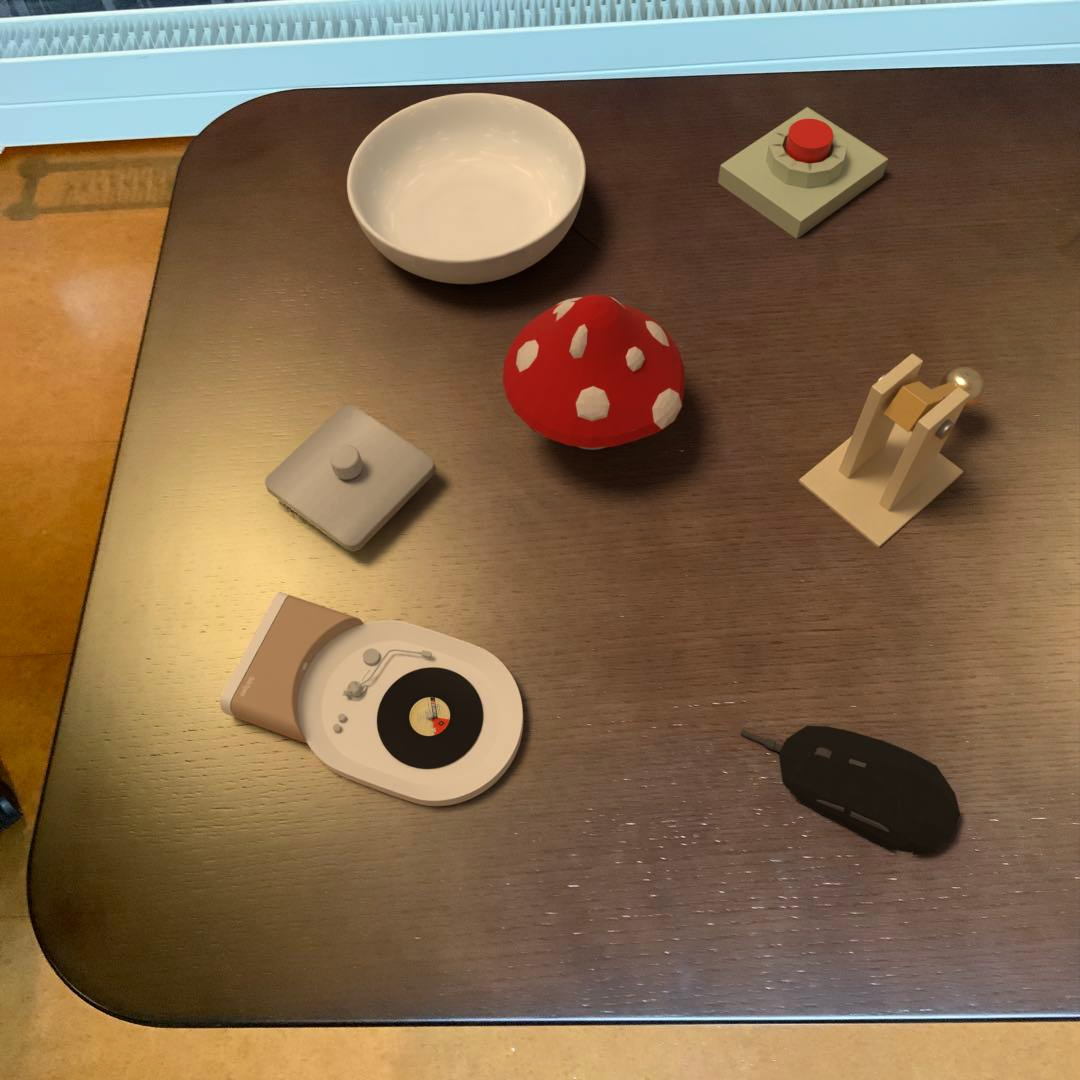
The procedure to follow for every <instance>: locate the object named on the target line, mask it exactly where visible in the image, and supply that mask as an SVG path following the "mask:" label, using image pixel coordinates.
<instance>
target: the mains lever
mask: <svg viewBox="0 0 1080 1080" xmlns="http://www.w3.org/2000/svg"><path fill="white" fill-rule="evenodd" d="M958 387H960V388H961V389H963V390H964V391H965V392H967V393H968V394H969V395H970V396H969V398H968V400H967V402H966V404H965V405H964V407H963V409H962V410H965V409H968V408H971V407H973V406H975V405H977V403H979V402H980V401H981V399H982V398H983V396H984V394H985V391H986V390H985V389H986V384H985V379H984V377H983V376H982V374H981V373H980V372H979V371H978V370H977V369H975V368H973V367H970V366H963V365H962V366H957V367H954V368H952V369H949V371H947V372H946V373H945V374H944V375H943V376H942V379H941V381H940V383H939V386H936V387H933V388H930V387H928V386H927V385H925V384H924V383H923V382H921V380H917V381H914V383H911V384H908V385H905V386H902V388H901V389H900V390H899V392H898V393H897V395H896V396H895V398H894V399H893V400H892V402H891V403H890V405H889V406H888V408H887V409H886V411H885V412H884V414H885V415H886V416H887V417H889V418H890V419H891V420H893V421H894V422H895V423H897V424H898V425H899V426H901V427H902V428H903V429H904V430H906V431H907V432H910V431H911V432H913V430H914V428H915V426H916V424H917V422H918V421H919V420H920V419H921V418H922V417H923V416H924V415H926V414H927V413H928V412H929V411H930V410H932V409H933V408H934V407H935V406H936V405H937V404H939V403H940V402H941V401H942V400H943V399H945V398H946V397H947V396H948V395H949V394H950V393H952V392H953V391H954V390H955V389H956V388H958Z"/></svg>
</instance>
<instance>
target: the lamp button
mask: <svg viewBox="0 0 1080 1080" xmlns="http://www.w3.org/2000/svg"><path fill="white" fill-rule="evenodd" d="M832 140H833V131H832V129H831V127H830V126H829V125H828V124H826V123H825V122H823V121H820V120H817V119H801V120H798V121H796V122H795V123H793V124H792V125H791V127H790V128H789V132H788V137H787V141H786V146H785V148H786V152H787V154H788V155H789V156H790V157H791V158H793V159H794V160H796V161H799V162H804V163H809V164H811V163H817V162H821V161H823V160H824V159H825V158H826V157H827V156H828V155H829V152H830V148H831V144H832Z"/></svg>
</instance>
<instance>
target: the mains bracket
mask: <svg viewBox="0 0 1080 1080" xmlns="http://www.w3.org/2000/svg"><path fill="white" fill-rule="evenodd" d="M923 363H924V361H923V359H921V358H920V357H919V356H917V355H916V354H915V353H911V354H910V355H908V356H907V357H906V358H904V359H903V360H902V361H901V362H899V363H898V364H897V365H895V366H894V367H893V368H892V369H891V370H890V371H888V372H887V373H884V374H882V375H881V376H880V377H879V378H878V379H877V380H876V382H875V383H874V384H872V386H871V387H870V389H869V391H868V392H869V393H868V394H867V395H868V396H867V398H866V400H865V402H864V405H863V408H862V410H861V413H860V415H859V418H858V420H857V423H856V425H855V428H854V431H853V433H852V435H851V436H849V438H847V439H846V440H845V441H844V442H842V443H841V444H840V445H839V446H838V447H836V448H835V449H834V450H833V451H832V452H830V453H829V454H828V455H827V456H826V457H824V458H823V459H822V460H821V461H820V462H819V463H817V464H816V465H815V466H814V467H812V468H811V469H810V470H809V471H807V473H805V474H804V475H803V476H801V477H800V478H799V479H798V483H799V484H800V485H801V486H803V487H804V488H805V489H806V490H807V491H809V492H810V493H811V494H812V495H814V497H816V498H817V499H818V500H820V501H821V502H822V503H823V504H825V505H826V507H828V508H829V509H831V510H832V511H833V512H834V513H835V514H836V515H838V516H839V517H840V518H841V519H843V520H844V521H845V522H846V523H847V524H848V525H850V526H851V527H852V528H853V529H854V530H855V531H857V532H858V533H859V534H861V535H862V536H863V537H864V538H865V539H867V540H868V541H869V542H870V543H872V544H873V545H874V546H875V547H877V548H878V549H880V548H881V547H882V546H883V545H884V544H885V543H886V542H887V541H888V540H890V539H891V538H892V537H893V536H894V535H896V533H898V532H899V531H900V530H901V529H902V528H904V527H905V526H906V525H907V524H908V523H909V522H910V521H911V520H912V519H913V518H915V517H916V516H917V515H918V514H919V513H920V512H921V511H922V510H924V509H925V508H926V507H927V506H928V505H929V504H930V503H932V502H933V501H934V500H935V499H936V498H937V497H938V496H939V495H940V494H942V493H943V492H944V491H945V490H946V489H947V488H948V487H949V486H950V485H952V484H953V483H954V482H955V481H956V480H957V479H959V478H960V476H962V475H963V473H964V470H963V469H962V468H960V467H958V466H957V465H956V464H955V463H953V462H952V461H951V460H950V459H948V458H947V457H945V455H943V454H941V450H942V448H943V447H944V445H945V443H946V441H947V439H948V437H949V436H950V434H951V432H952V431H953V429H954V428H955V425H956V422H957V421H958V419H959V417H960V415H961V413H962V411H963V410H964V409H963V407H964V405H965V404H966V402H967V400H968V398H969V396H970V395H969V394H968V393H967V392H965V391H964V390H963V389H961V388H960V387H958V388H956V389H955V390H954V391H953V392H952V393H950V394H949V395H948V396H947V397H946V398H945V399H943V400H942V401H941V402H940V403H939V404H937V405H936V406H935V407H934V408H933V409H932V410H930V411H929V412H928V413H927V414H926V415H924V416H923V417H922V418H921V419H920V420H919V421H918V422H917V424H916V426H915V428H914V430H912V431H910V432H907V431H906V430H904V429H903V428H902V427H901V426H899V425H898V424H897V423H895V422H894V421H893V420H891V419H890V418H889V417H887V416H886V415H885V414H884V412H885V411H886V409H887V408H888V406H889V405H890V403H891V402H892V400H893V399H894V398H895V396H896V395H897V393H898V392H899V390H900V389H901V388H902V386H905V385H908V384H911V383H914V382H916V381H915V380H916V379H917V376H918V374H919V371H920V370H921V367H922V365H923Z"/></svg>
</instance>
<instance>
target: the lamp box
mask: <svg viewBox="0 0 1080 1080" xmlns="http://www.w3.org/2000/svg"><path fill="white" fill-rule="evenodd" d="M801 119H817V120H820V121H823V122H825V123H826V124H828V125H829V126H830V127H831V129H832V131H833V140H832V144H831V148H830V152H829V155H828V156H827V157H826V158H825V159H824V160H823V161H821V162H817V163H811V164H809V163H804V162H799V161H796V160H794V159H793V158H791V157H790V156H789V155H788V154H787V152H786V148H785V146H786V141H787V137H788V132H789V128H790V127H791V125H792V124H793V123H795V122H796V121H798V120H801ZM888 161H889V158H888V157H887V156H885V155H883V154H882V153H880V152H878V151H877V150H875V149H874V148H872V147H871V146H869V145H867V144H866V143H864V142H863V141H861V140H860V139H858V137H855V136H853V134H850V132H847V131H845V130H844V129H843V128H841V127H840V126H838V125H837V124H835V123H833V122H832V121H830V120H829V119H827V118H825V117H824V116H822V115H821V114H819V113H818V112H816V111H814V110H813V109H811V108H810V107H808V106H807V107H804V108H803V109H802V110H800V111H799V112H797V113H795V115H793V116H792V117H790V118H788V119H787V120H785V121H784V122H783V123H781V124H780V125H778V126H777V127H775V128H774V129H772V130H771V131H769V132H768V133H766V134H764V135H763V136H762V137H760V138H758V139H757V140H755V141H754V142H752V144H749V145H748V146H746V147H745V148H744V149H742V150H741V151H739V152H738V153H736V154H735V155H733V156H732V157H730V158H729V159H727V160H726V161H724V162H723V163H721V164H720V165H719V173H718V179H717V184H719V185H720V186H721V187H723V188H724V189H725V190H727V191H728V192H730V193H731V194H732V195H734V196H736V197H737V198H738V199H740V200H741V201H742V202H744V203H745V204H747V205H748V206H749V207H751V208H752V209H754V210H755V211H756V212H758V213H759V214H760V215H762V216H763V217H765V218H766V219H768V220H769V221H770V222H772V223H774V224H775V225H776V226H778V227H779V228H780V229H782V230H783V231H785V232H786V233H787V234H789V235H790V236H792V237H793V238H795V239H796V240H797V239H799V238H801V236H804V235H805V234H806V233H807V232H809V231H811V230H812V229H813V228H814V227H816V226H818V224H820V223H821V222H822V221H824V220H826V218H828V217H830V216H831V215H832V214H833V213H835V212H836V211H838V210H839V209H841V208H842V207H843V206H845V205H846V204H848V203H849V202H850V201H852V200H853V199H855V198H856V197H857V196H859V195H860V194H861V193H862V192H864V191H865V190H867V189H868V188H870V187H871V186H873V185H874V184H875V183H876V182H878V181H879V180H880V179H882V178H883V177H884V174H885V170H886V168H887V164H888Z"/></svg>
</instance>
